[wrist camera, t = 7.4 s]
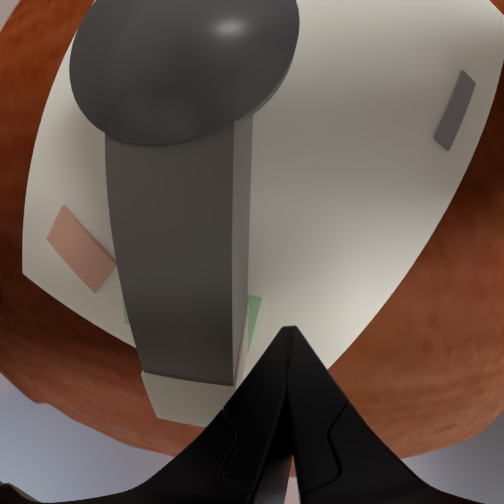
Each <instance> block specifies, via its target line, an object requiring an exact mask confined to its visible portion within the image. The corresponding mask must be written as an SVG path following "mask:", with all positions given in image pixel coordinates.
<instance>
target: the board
mask: <svg viewBox="0 0 504 504" xmlns="http://www.w3.org/2000/svg"><path fill="white" fill-rule="evenodd" d="M95 1H96V0H95ZM95 1H94V2H95ZM296 2H297V5H298V9H299V18H300V26H299V36H298V40H297V45H296V49H295V53H294V57H293V61H292V64H291V67H290V69H289V71H288V74H287V76H286V78H285V79H284V81H283V83H282V84H281V86H280V88H279V89H278V90H277V91H276V93H275V94H274V95H273V96H272V98H271V99H270V100H269V101H268V102H267V103H266V104H265V105H264V106H263V107H262V108H261V109H260V110H259V111H257V112H256V113H255V114H254V115H253V130H252V161H251V192H250V225H249V259H248V294H247V304H249V312H248V345H247V355H246V363H245V370H244V377H243V380H244V379H245V378H246V376H247V375H248V374H249V372H250V371H251V370H252V368H253V367H254V365H255V364H256V363H257V361H258V360H259V359H260V357H261V356H262V354H263V353H264V352H265V350H266V349H267V347H268V346H269V345H270V343H271V342H272V340H273V339H274V337H275V336H276V334H277V333H278V332H279V330H280V329H281V327H283V326H292V325H296V326H297V327H298V328H299V330H300V331H301V332H302V334H303V335H304V337H305V338H306V340H307V341H308V342H309V344H310V345H311V347H312V348H313V350H314V351H315V352H316V354H317V355H318V357H319V358H320V360H321V361H322V362H323V364H324V365H325V367H326V368H327V369H328V368H329V367H330V366H331V365H332V364H333V363H334V362H335V361H336V360H337V359H338V358H339V357H340V356H341V355H342V354H343V352H344V351H345V350H346V349H347V348H348V347H349V346H350V345H351V344H352V342H353V341H354V340H355V339H356V338H357V337H358V335H359V334H360V333H361V332H362V331H363V330H364V328H365V327H366V326H367V325H368V324H369V322H370V321H371V320H372V319H373V317H374V316H375V315H376V314H377V313H378V311H379V310H380V309H381V307H382V306H383V305H384V304H385V302H386V301H387V300H388V298H389V297H390V296H391V294H392V293H393V292H394V290H395V289H396V288H397V286H398V285H399V283H400V282H401V281H402V279H403V278H404V276H405V275H406V274H407V272H408V271H409V269H410V268H411V266H412V265H413V263H414V262H415V260H416V259H417V257H418V256H419V254H420V253H421V251H422V250H423V248H424V247H425V245H426V243H427V242H428V240H429V239H430V237H431V235H432V234H433V232H434V230H435V229H436V227H437V225H438V223H439V222H440V220H441V218H442V217H443V215H444V213H445V211H446V209H447V208H448V206H449V204H450V202H451V200H452V198H453V196H454V194H455V192H456V190H457V188H458V186H459V184H460V182H461V180H462V178H463V176H464V174H465V172H466V170H467V168H468V165H469V163H470V161H471V159H472V156H473V154H474V152H475V149H476V147H477V145H478V142H479V140H480V137H481V134H482V132H483V129H484V126H485V124H486V121H487V118H488V115H489V112H490V109H491V106H492V103H493V100H494V96H495V93H496V89H497V86H498V82H499V78H500V74H501V70H502V65H503V61H504V15H503V14H502V13H501V12H500V11H499V10H498V9H497V8H496V7H495V6H494V5H493V4H492V3H491V2H490V1H489V0H296ZM92 5H93V4H92ZM76 33H77V32H76ZM75 35H76V34H75ZM74 38H75V36H74ZM74 38H73V40H72V42H71V44H70V46H69V48H68V50H67V52H66V54H65V56H64V59H63V61H62V63H61V66H60V68H59V70H58V73H57V75H56V78H55V80H54V83H53V86H52V88H51V91H50V94H49V97H48V100H47V103H46V106H45V109H44V112H43V116H42V119H41V123H40V126H39V130H38V134H37V138H36V142H35V146H34V151H33V155H32V160H31V166H30V171H29V177H28V184H27V191H26V199H25V209H24V221H23V241H22V271H23V274H24V275H25V276H26V277H28V278H29V279H30V280H31V281H33V282H34V283H35V284H37V285H38V286H39V287H40V288H42V289H43V290H44V291H46V292H47V293H49V294H50V295H51V296H53V297H54V298H55V299H57V300H58V301H60V302H61V303H63V304H64V305H65V306H67V307H68V308H70V309H71V310H73V311H74V312H76V313H77V314H79V315H80V316H82V317H84V318H85V319H87V320H88V321H90V322H92V323H93V324H95V325H96V326H98V327H100V328H101V329H103V330H105V331H106V332H108V333H110V334H112V335H113V336H115V337H117V338H119V339H120V340H122V341H124V342H126V343H128V344H129V345H131V346H133V347H135V348H136V345H135V342H134V338H133V335H132V331H131V327H130V324H129V320H128V316H127V312H126V307H125V303H124V299H123V294H122V290H121V285H120V280H119V275H118V269H117V264H116V258H115V252H114V246H113V239H112V232H111V224H110V215H109V206H108V195H107V182H106V164H105V133H104V132H102V131H101V130H99V129H98V128H96V127H95V126H94V125H93V124H92V123H91V122H90V121H89V120H88V119H87V118H86V117H85V115H84V114H83V113H82V112H81V110H80V108H79V106H78V105H77V103H76V101H75V98H74V95H73V92H72V89H71V84H70V76H69V63H70V54H71V49H72V45H73V41H74Z"/></svg>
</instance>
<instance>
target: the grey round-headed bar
mask: <svg viewBox="0 0 504 504" xmlns="http://www.w3.org/2000/svg"><path fill="white" fill-rule="evenodd" d="M299 26H300V18H299V9H298V5H297V2H296V0H96V1H95V2H94V3H93V5H92V6H91V7H90V9H89V10H88V12H87V13H86V15H85V17H84V18H83V20H82V22H81V24H80V26H79V28H78V30H77V33H76V35H75V38H74V41H73V45H72V49H71V54H70V63H69V76H70V84H71V89H72V92H73V95H74V98H75V101H76V103H77V105H78V106H79V108H80V110H81V112H82V113H83V114H84V115H85V117H86V118H87V119H88V120H89V121H90V122H91V123H92V124H93V125H94V126H95V127H96V128H98V129H99V130H101V131H102V132H104V133H105V164H106V182H107V195H108V206H109V215H110V224H111V232H112V239H113V246H114V252H115V258H116V264H117V269H118V275H119V280H120V285H121V290H122V294H123V299H124V303H125V307H126V312H127V316H128V320H129V324H130V327H131V331H132V335H133V338H134V342H135V345H136V349H137V352H138V356H139V359H140V362H141V365H142V368H143V371H142V373H141V377H142V380H143V383H144V386H145V388H146V391H147V394H148V396H149V399H150V401H151V404H152V406H153V409H154V411H155V414H156V416H157V418H160V419H164V420H169V421H174V422H179V423H184V424H189V425H195V426H201V427H207V426H208V425H209V423H210V422H211V421H212V420H213V419H214V418H215V416H216V415H217V414H218V413H219V411H220V410H221V409H223V406H224V405H225V404H226V403H227V401H228V400H229V399H230V397H231V396H232V395H233V394H234V392H235V391H236V390H237V388H238V387H239V386H240V384H241V383H242V382H243V377H244V370H245V363H246V355H247V345H248V312H249V304H247V294H248V259H249V225H250V192H251V161H252V130H253V115H254V114H255V113H256V112H257V111H259V110H260V109H261V108H262V107H263V106H264V105H265V104H266V103H267V102H268V101H269V100H270V99H271V98H272V96H273V95H274V94H275V93H276V91H277V90H278V89H279V88H280V86H281V84H282V83H283V81H284V79H285V78H286V76H287V74H288V71H289V69H290V67H291V64H292V61H293V57H294V53H295V49H296V45H297V40H298V36H299Z"/></svg>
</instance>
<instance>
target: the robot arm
mask: <svg viewBox="0 0 504 504" xmlns="http://www.w3.org/2000/svg"><path fill="white" fill-rule="evenodd" d="M292 456H294V463H295V471H296V478H297V485H298V493H299V500H300V504H484V503H480V502H476V501H472V500H468V499H465V498H462V497H458V496H455V495H452V494H449V493H446V492H443V491H440V490H438V489H436V488H434V487H432V486H430V485H429V484H427V483H425V482H424V481H423V480H422V479H420V478H419V477H418V476H417V475H416V474H414V473H413V471H412V470H410V469H409V468H408V467H407V466H406V465H405V464H404V463H403V462H402V461H401V460H400V459H399V458H398V457H397V456H396V455H395V454H394V453H393V452H392V451H391V450H390V449H389V448H388V447H387V446H386V445H385V444H384V443H383V442H382V441H381V440H380V439H379V437H378V436H377V435H376V434H375V433H374V432H373V431H372V430H371V429H370V428H369V426H368V425H367V424H366V422H365V421H364V420H363V419H362V417H361V416H360V415H359V413H358V412H357V411H356V409H355V408H354V406H353V405H352V403H349V399H348V398H347V397H346V395H345V394H344V392H343V391H342V390H341V388H340V387H339V385H338V384H337V382H336V381H335V380H334V378H333V377H332V375H331V374H330V372H329V371H328V370H327V368H326V367H325V365H324V364H323V362H322V361H321V360H320V358H319V357H318V355H317V354H316V352H315V351H314V350H313V348H312V347H311V345H310V344H309V342H308V341H307V340H306V338H305V337H304V335H303V334H302V332H301V331H300V330H299V328H298V327H297V326H296V325H292V326H283V327H281V329H280V330H279V332H278V333H277V334H276V336H275V337H274V339H273V340H272V342H271V343H270V345H269V346H268V347H267V349H266V350H265V352H264V353H263V354H262V356H261V357H260V359H259V360H258V361H257V363H256V364H255V365H254V367H253V368H252V370H251V371H250V372H249V374H248V375H247V376H246V378H245V379H244V380H243V382H242V383H241V384H240V386H239V387H238V388H237V390H236V391H235V392H234V394H233V395H232V396H231V397H230V399H229V400H228V401H227V403H226V404H225V405H224V406H223V409H221V410H220V411H219V413H218V414H217V415H216V416H215V418H214V419H213V420H212V421H211V422H210V423H209V425H208V426H207V427H206V428H205V429H204V430H203V431H202V433H201V434H200V435H199V436H198V437H197V438H196V439H195V440H194V441H192V442H191V443H190V444H189V445H188V446H187V447H186V448H185V449H184V450H183V451H182V452H181V453H179V454H178V455H177V456H176V457H175V458H174V459H173V460H171V461H170V462H169V463H168V464H167V465H166V466H164V467H163V468H162V469H161V470H160V471H158V472H157V473H156V474H155V475H153V476H152V477H151V478H150V479H148V480H147V481H145V482H144V483H142V484H141V485H139V486H137V487H135V488H133V489H131V490H128V491H125V492H121V493H117V494H112V495H107V496H102V497H97V498H90V499H84V500H76V501H68V502H57V503H42V502H39V501H37V500H36V499H34V498H33V497H31V496H30V495H28V494H26V493H25V492H23V491H22V490H20V489H19V488H17V487H15V486H14V485H12V484H9V483H2V482H1V481H0V504H284V501H285V496H286V491H287V485H288V480H289V474H290V469H291V463H292Z"/></svg>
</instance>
